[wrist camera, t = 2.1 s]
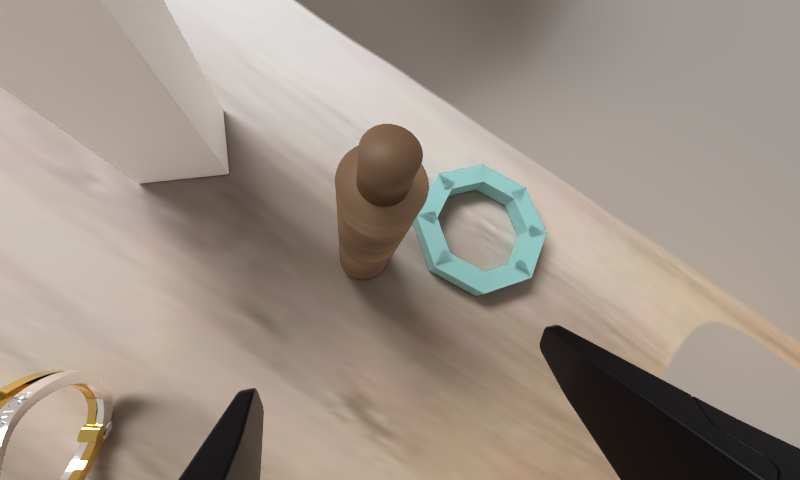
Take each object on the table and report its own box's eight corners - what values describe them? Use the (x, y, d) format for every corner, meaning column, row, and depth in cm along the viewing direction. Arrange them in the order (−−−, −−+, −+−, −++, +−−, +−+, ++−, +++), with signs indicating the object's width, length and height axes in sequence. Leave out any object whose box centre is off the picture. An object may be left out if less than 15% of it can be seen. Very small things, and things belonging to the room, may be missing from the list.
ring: (111, 503, 16) (-97, 658, 8) (43, 503, 16) (-242, 666, 8) (154, 364, 18) (19, 389, 11) (95, 360, 18) (-90, 383, 10)
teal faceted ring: (544, 211, 26) (556, 204, 25) (508, 313, 23) (519, 312, 22) (446, 157, 26) (452, 147, 25) (395, 252, 23) (399, 247, 21)
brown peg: (394, 248, 23) (462, 138, 10) (373, 288, 22) (416, 224, 9) (354, 226, 23) (368, 86, 10) (331, 265, 22) (310, 166, 9)
